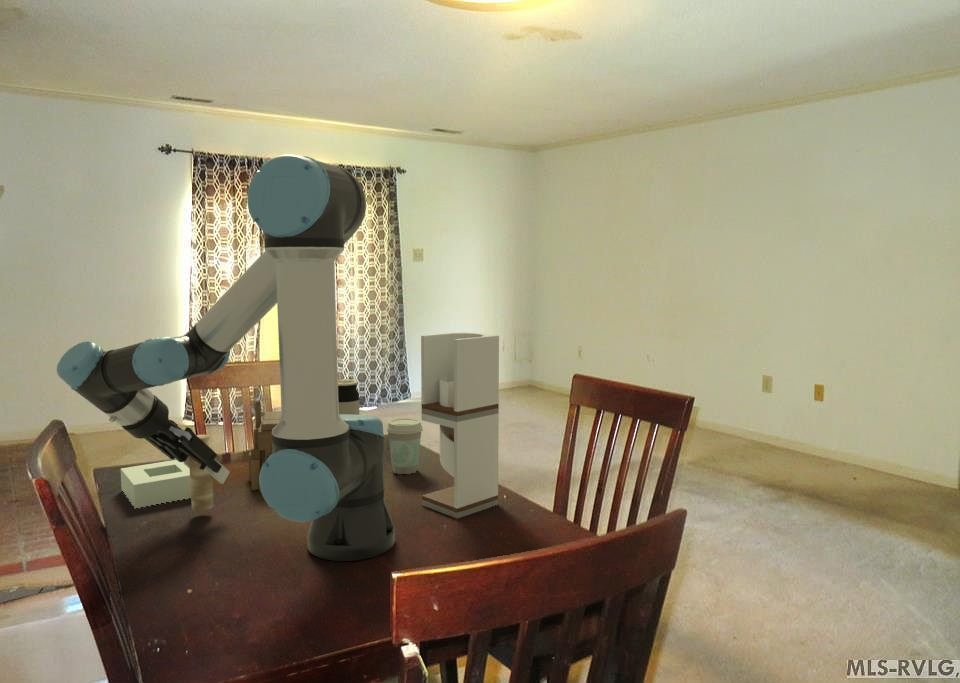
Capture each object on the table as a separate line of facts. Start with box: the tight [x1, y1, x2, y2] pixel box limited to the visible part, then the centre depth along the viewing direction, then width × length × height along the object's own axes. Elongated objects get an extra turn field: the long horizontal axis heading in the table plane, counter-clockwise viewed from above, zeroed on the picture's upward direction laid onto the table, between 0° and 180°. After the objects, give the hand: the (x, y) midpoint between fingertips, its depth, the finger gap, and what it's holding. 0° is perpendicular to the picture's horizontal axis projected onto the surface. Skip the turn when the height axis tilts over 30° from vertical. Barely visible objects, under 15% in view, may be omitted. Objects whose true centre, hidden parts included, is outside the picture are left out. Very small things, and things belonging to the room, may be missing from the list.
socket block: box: [120, 459, 191, 510], centre depth 150 cm, size 14×14×5 cm
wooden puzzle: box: [247, 398, 282, 493], centre depth 161 cm, size 22×15×19 cm, turn 13°
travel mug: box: [338, 379, 360, 415], centre depth 186 cm, size 8×8×18 cm
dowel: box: [189, 434, 215, 512], centre depth 136 cm, size 4×4×14 cm
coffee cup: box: [386, 418, 423, 475], centre depth 166 cm, size 8×8×12 cm
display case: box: [420, 331, 500, 519], centre depth 141 cm, size 11×11×35 cm
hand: (216, 475), depth 139 cm, fingers closed on dowel, 4 cm apart
